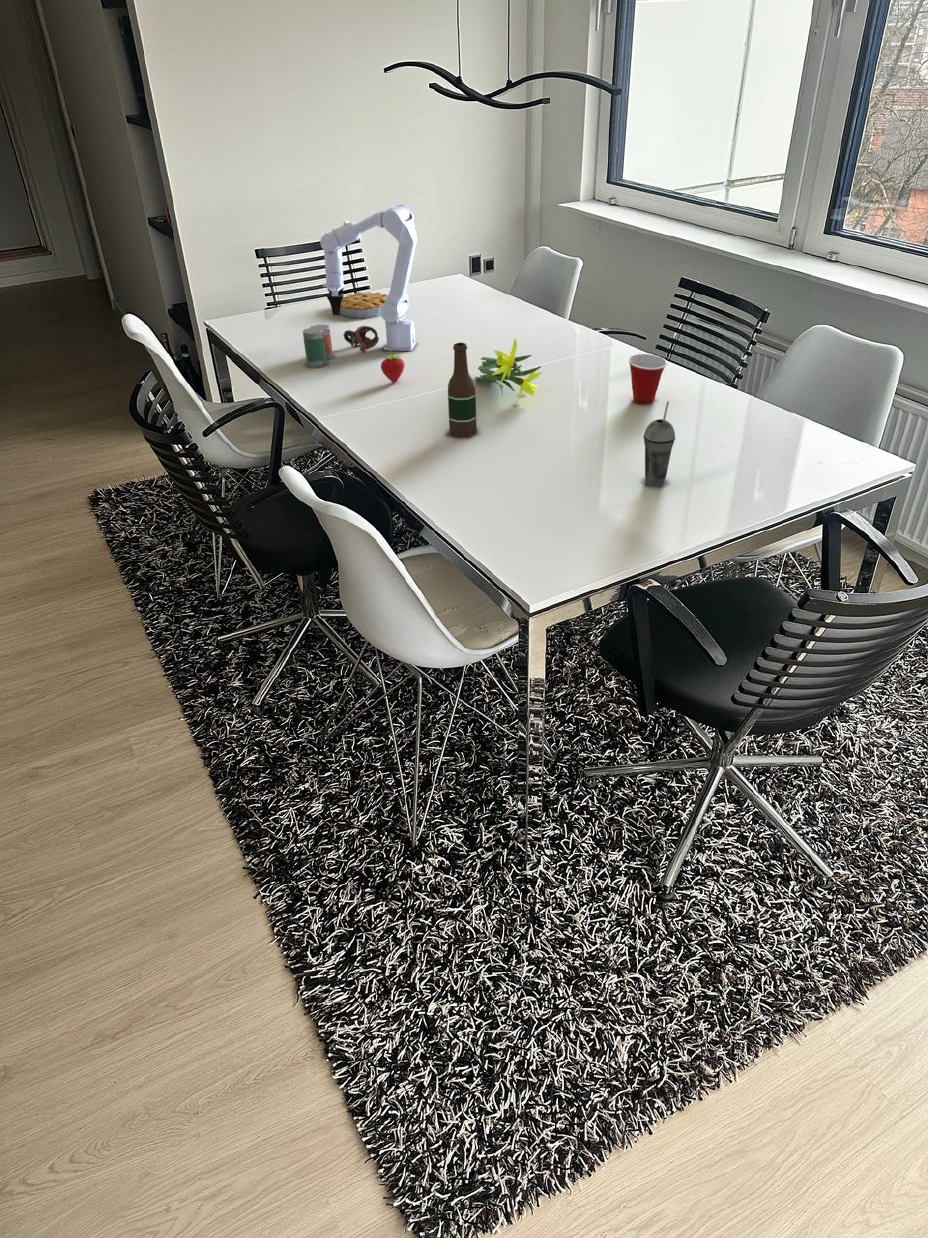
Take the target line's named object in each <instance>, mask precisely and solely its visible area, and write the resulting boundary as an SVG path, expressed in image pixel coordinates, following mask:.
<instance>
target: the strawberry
mask: <svg viewBox="0 0 928 1238" xmlns="http://www.w3.org/2000/svg"><path fill="white" fill-rule="evenodd" d="M390 352H392V353H390V354H389V356H386V357H384V360H382V361H381V363H380V369H381V371H382V374H383V375H384V376H385V377H386V378H387V379H388V380H389V381H390V382H391V383H392V384H396V383H397V382H398V380H399V379H400V377H401V376H402V374H403V373H404V370H405V361H404V360H403V359H402V355H395V353H394V350H390Z"/></svg>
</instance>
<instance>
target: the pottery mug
mask: <svg viewBox="0 0 928 1238" xmlns="http://www.w3.org/2000/svg"><path fill="white" fill-rule="evenodd" d="M369 332H372V334H374V337H373V338H371V337H368V336H366V335H367V333H369ZM342 336H343V338H344V340H345V341H346V342H347V343H349V344H350V346H351V347H356V346H358V345H360V347H359V351H360V353H361V352H362V353H365V352H366V351H367V350H370V349H371V348H372V349H373V347H376V346H377V344H378V343H379V341H380V338H379V336H378V332H377V329H375V328H374V327H372V326H370V325H361V326H359V327H358V328H356V330H355V331H354V330H350V329H349V330H348V329H347V330H345V331H344V333H343V335H342Z"/></svg>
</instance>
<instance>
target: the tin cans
mask: <svg viewBox="0 0 928 1238" xmlns="http://www.w3.org/2000/svg"><path fill="white" fill-rule="evenodd" d="M330 328H331V327H330V325H328V324H314V325H311V326H310V327H308V328H305V329H303V330H302V336H303V337H302V339H303V345H304V352H305V353H304V354H305V360H306V365H307V367H308V368H313V369H314V368H316V369H317V368H323V367H326V366H327V364H328V362H327V361H329V360H331V359H333V358H334V355H333V353H334V352H333V345H332V336H331V335H332V334H331V329H330Z"/></svg>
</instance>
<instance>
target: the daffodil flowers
mask: <svg viewBox="0 0 928 1238" xmlns="http://www.w3.org/2000/svg"><path fill="white" fill-rule="evenodd" d="M517 349H518V343H517V337H515V338H514V341H513V343H512V347H511V350H510V353H509V355H508V354H506V353H504V352H503V351H499V350H494V353H495V355H496V357H497V358H494V357H487V356H483V357H481V358H480V360H481V361H482V362H481V365H479V366H478V368H477V370H478V371H479V372H480V373H481V374H482V375H481V374H480V375H479V377H478V376H474V379H475V380H476V381H492V382H494V383H496V384H497V387H498V388H499V387H500V392H501V395H502V396H504V394H505V388H504V386H503V385H505V386H507V387H508V388H509V389H511V390H512V391H513V392H516V390H515V389H514V387H513V386H512V384H511V383H510V382H512V383H514V384H516V385H518V386H519V387H520V388H519V393H518V396H517V400H516V401H519V400H518V399H519V398H520V397H522V395H523V393H524V392H525V393H527V394H528V395H531V396H534V393H535V392H536V390H537V389H538V385H536V384H533V383H531V382H532V381H534V380H535V379H536V378H538V377H540V376H541V375H542V374H543V372H537V371H538V370H539V369H541V368H542V366H541V365H539V366H537V367H533V368H530V369H527V370H521V369H520V368H522V366H523V364H520V365H518V363H519V362H522V361H524V360H526V359H529V358H530V357H532V354H528V355H527V354H526V355H521V356H516V352H517ZM492 369H497V370H496V371H495V370H492ZM527 375H528V376H527ZM525 376H527V377H526V378H522V377H525ZM509 381H510V382H509ZM502 384H503V385H502ZM515 406H518V403H516V404H515Z"/></svg>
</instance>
